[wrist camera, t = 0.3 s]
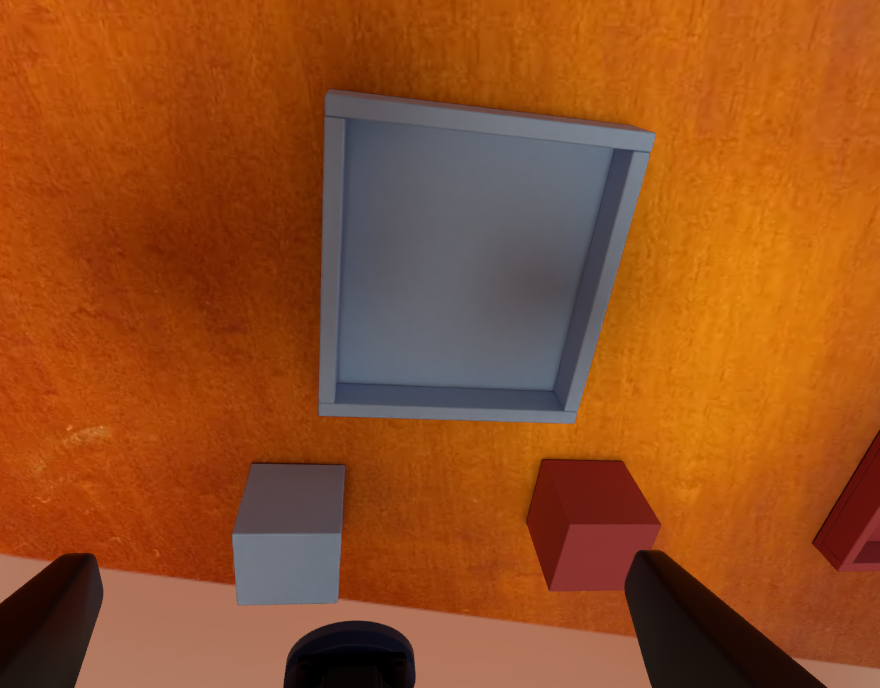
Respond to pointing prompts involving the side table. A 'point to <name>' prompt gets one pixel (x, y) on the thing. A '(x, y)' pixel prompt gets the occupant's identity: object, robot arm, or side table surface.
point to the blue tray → (467, 256)
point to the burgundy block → (588, 524)
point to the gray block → (289, 535)
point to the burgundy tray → (855, 520)
